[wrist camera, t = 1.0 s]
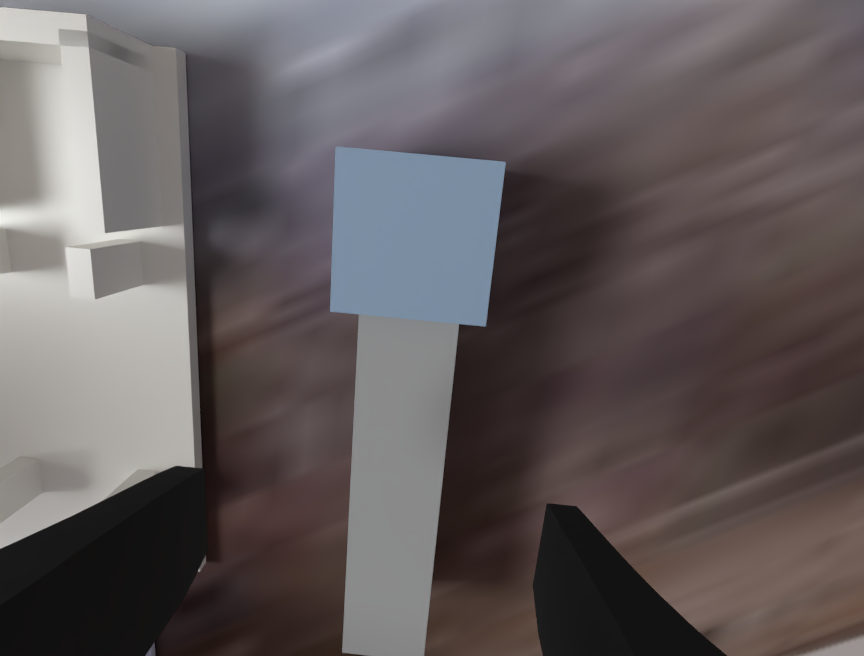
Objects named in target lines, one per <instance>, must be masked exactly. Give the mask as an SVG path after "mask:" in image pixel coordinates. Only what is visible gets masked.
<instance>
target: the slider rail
mask: <svg viewBox="0 0 864 656" xmlns="http://www.w3.org/2000/svg"><path fill="white" fill-rule="evenodd" d="M174 466H184V467H194V468H202V446H201V421H200V397H199V373H198V348H197V324H196V299H195V275H194V250H193V226H192V201H191V177H190V152H189V128H188V104H187V79H186V55H185V52H183V51H181V50H179V49H177V48H172V47H160V46H151V45H149V44H147V43H145V42H143V41H141V40H138V39H136V38H134V37H132V36H130V35H128V34H126V33H124V32H122V31H120V30H117V29H115V28H113V27H111V26H109V25H107V24H105V23H103V22H101V21H99V20H96V19H94V18H92V17H90V16H88V15H86V14H75V13H63V12H51V11H40V10H28V9H16V8H4V7H0V549H1V548H3V547H5V546H8V545H10V544H12V543H14V542H16V541H19V540H21V539H23V538H25V537H27V536H29V535H32V534H34V533H36V532H38V531H40V530H42V529H45V528H47V527H49V526H51V525H53V524H56V523H58V522H60V521H62V520H64V519H66V518H69V517H71V516H73V515H75V514H77V513H79V512H81V511H83V510H85V509H87V508H89V507H91V506H93V505H95V504H97V503H99V502H101V501H103V500H105V499H107V498H109V497H111V496H113V495H115V494H117V493H119V492H121V491H123V490H125V489H127V488H129V487H131V486H133V485H135V484H137V483H139V482H141V481H143V480H145V479H147V478H149V477H151V476H154V475H156V474H158V473H160V472H162V471H164V470H167V469H169V468H172V467H174ZM205 563H206V556H205V558H204V560H203V562H202V564H201V566H200V568H199V570H198V572H200V571H201V569H202V568H203V566H204V565H205Z"/></svg>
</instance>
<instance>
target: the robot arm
mask: <svg viewBox="0 0 864 656" xmlns="http://www.w3.org/2000/svg"><path fill="white" fill-rule="evenodd" d="M207 551H208V542H207V519H206V495H205V472H204V469H203V468H194V467H184V466H174V467H172V468H169V469H167V470H164V471H162V472H160V473H158V474H156V475H154V476H151V477H149V478H147V479H145V480H143V481H141V482H139V483H137V484H135V485H133V486H131V487H129V488H127V489H125V490H123V491H121V492H119V493H117V494H115V495H113V496H111V497H109V498H107V499H105V500H103V501H101V502H99V503H97V504H95V505H93V506H91V507H89V508H87V509H85V510H83V511H81V512H79V513H77V514H75V515H73V516H71V517H69V518H66V519H64V520H62V521H60V522H58V523H56V524H53V525H51V526H49V527H47V528H45V529H42V530H40V531H38V532H36V533H34V534H32V535H29V536H27V537H25V538H23V539H21V540H19V541H16V542H14V543H12V544H10V545H8V546H5V547H3V548H1V549H0V656H156V655H155V641H156V639H157V638H158V636H159V635H160V633H161V632H162V630H163V629H164V627H165V626H166V624H167V623H168V621H169V620H170V618H171V617H172V615H173V614H174V612H175V611H176V609H177V608H178V606H179V605H180V603H181V602H182V600H183V598H184V597H185V595H186V593H187V591H188V589H189V587H190V585H191V583H192V582H193V580H194V578H195V576H196V574H197V572H198V570H199V568H200V566H201V564H202V562H203V560H204V558H205V556H206V553H207ZM533 589H534V599H535V608H536V617H537V625H538V633H539V639H540V644H541V648H542V653H543V656H727V655H726V654H724V653H723V652H722V651H721V650H720V649H718V648H717V647H716V646H715V645H714V644H712V643H711V642H710V641H709V640H708V639H706V638H705V637H704V636H703V635H702V634H701V633H700V632H698V631H697V630H696V629H695V628H694V627H693V626H692V625H691V624H690V623H688V622H687V621H686V620H685V619H684V618H683V617H682V616H681V615H680V614H679V613H678V612H677V611H676V610H675V609H674V608H673V607H672V606H670V605H669V604H668V603H667V602H666V601H665V600H664V599H663V598H662V597H661V596H660V595H659V594H658V593H657V592H656V591H655V590H654V589H653V588H652V587H651V586H650V585H649V584H648V583H647V582H646V581H645V580H644V579H643V578H642V577H641V576H640V575H639V574H638V573H637V572H636V571H635V570H634V569H633V568H632V566H631V565H630V564H629V563H628V562H627V561H626V560H625V559H624V558H623V557H622V556H621V555H620V554H619V553H618V552H617V550H616V549H615V548H614V547H613V546H612V545H611V544H610V543H609V542H608V541H607V539H606V538H605V537H604V536H603V535H602V534H601V533H600V532H599V531H598V529H597V528H596V527H595V526H594V525H593V524H592V523H591V522H590V520H589V519H588V518H587V517H586V516H585V515H584V514H583V513H582V512H581V511H580V510H579V509H578V508H577V506H568V505H558V504H548V503H547V506H546V511H545V517H544V523H543V529H542V535H541V541H540V547H539V553H538V559H537V564H536V570H535V576H534V582H533Z"/></svg>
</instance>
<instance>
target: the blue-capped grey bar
mask: <svg viewBox="0 0 864 656" xmlns="http://www.w3.org/2000/svg"><path fill="white" fill-rule="evenodd" d="M505 164H506V162H503V161H491V160H480V159H469V158H458V157H447V156H436V155H425V154H413V153H402V152H391V151H380V150H369V149H358V148H347V147H336V153H335V182H334V212H333V242H332V271H331V301H330V312H340V313H351V314H359V324H358V344H357V364H356V384H355V404H354V424H353V444H352V464H351V484H350V505H349V525H348V545H347V565H346V585H345V605H344V625H343V645H342V653H349V654H358V655H367V656H424V650H425V641H426V632H427V622H428V613H429V603H430V594H431V584H432V575H433V566H434V556H435V547H436V537H437V528H438V519H439V509H440V500H441V490H442V481H443V471H444V462H445V453H446V443H447V434H448V424H449V415H450V406H451V396H452V387H453V377H454V368H455V359H456V349H457V340H458V330H459V324H464V325H474V326H485V327H486V321H487V313H488V305H489V296H490V288H491V280H492V272H493V263H494V255H495V247H496V239H497V230H498V222H499V214H500V206H501V197H502V189H503V181H504V173H505Z"/></svg>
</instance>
